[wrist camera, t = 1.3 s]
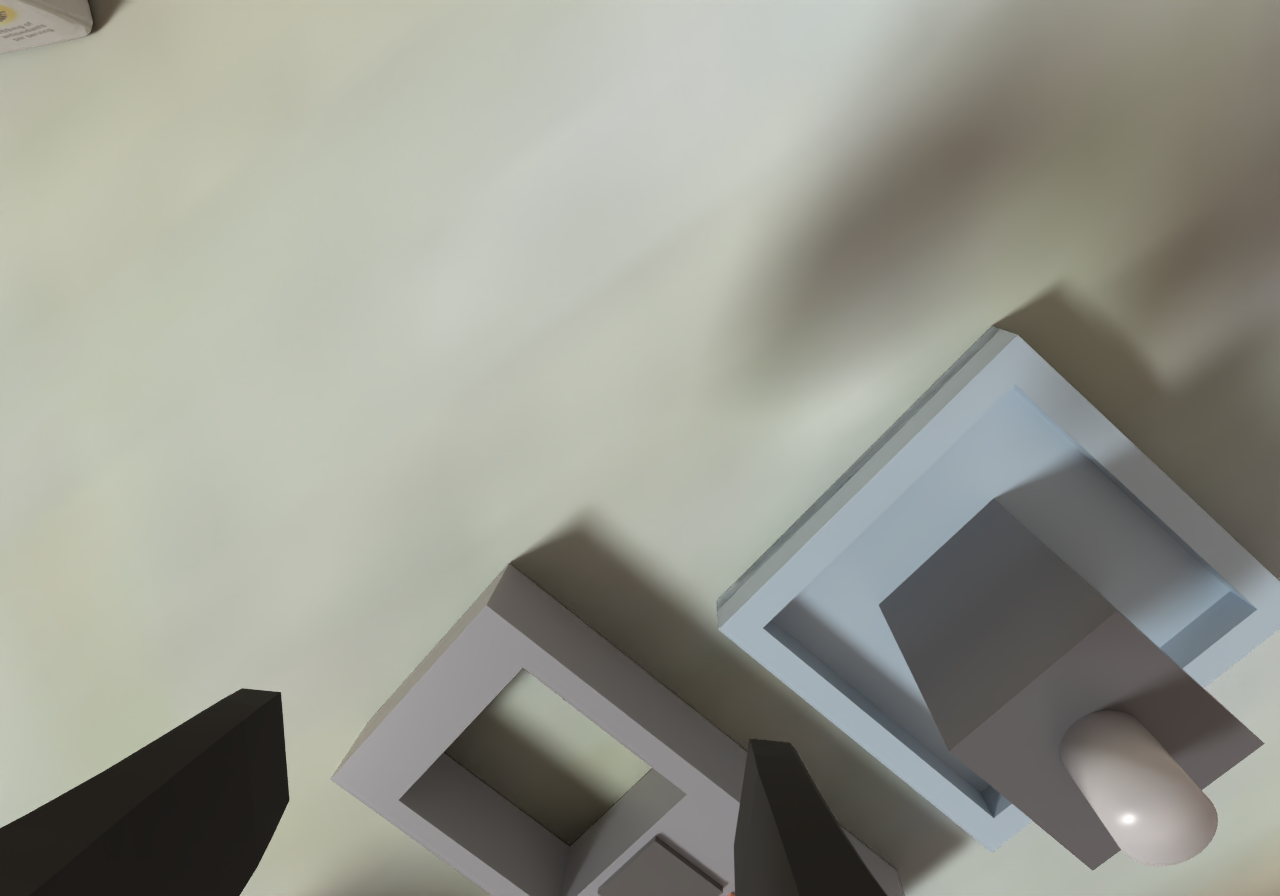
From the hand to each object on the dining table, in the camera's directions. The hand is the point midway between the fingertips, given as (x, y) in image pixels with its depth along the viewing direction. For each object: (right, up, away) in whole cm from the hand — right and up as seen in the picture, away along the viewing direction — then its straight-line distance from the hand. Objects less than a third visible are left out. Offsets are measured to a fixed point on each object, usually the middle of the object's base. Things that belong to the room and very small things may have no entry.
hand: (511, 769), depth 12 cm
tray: (+11, +1, +9) cm, 14 cm away
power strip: (+2, -6, +12) cm, 13 cm away
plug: (+11, +1, +8) cm, 14 cm away
